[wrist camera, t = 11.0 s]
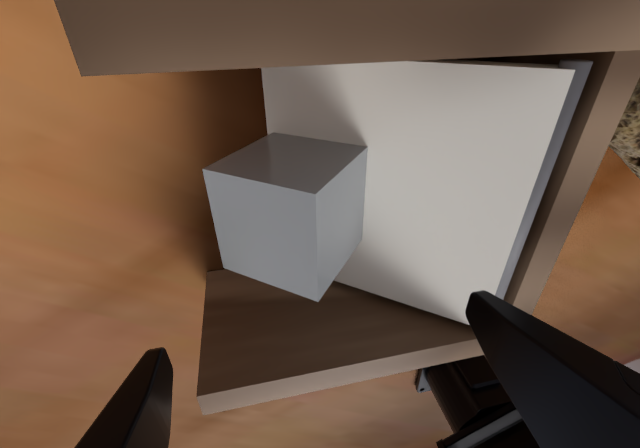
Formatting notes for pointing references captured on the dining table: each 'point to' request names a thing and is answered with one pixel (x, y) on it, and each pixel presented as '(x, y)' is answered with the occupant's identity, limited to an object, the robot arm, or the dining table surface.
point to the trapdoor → (436, 164)
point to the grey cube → (289, 210)
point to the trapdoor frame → (348, 48)
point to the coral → (629, 133)
